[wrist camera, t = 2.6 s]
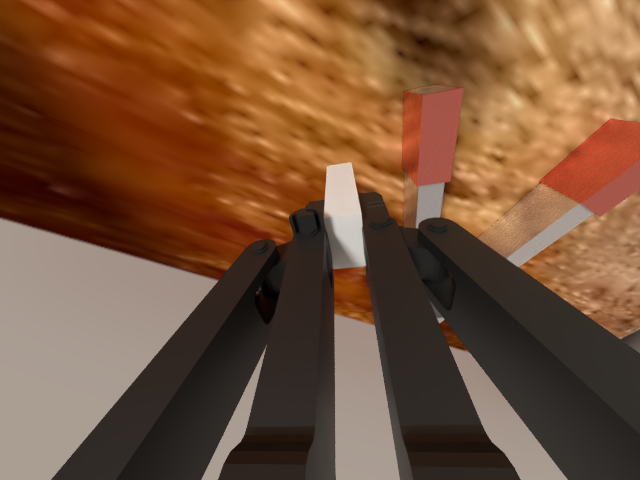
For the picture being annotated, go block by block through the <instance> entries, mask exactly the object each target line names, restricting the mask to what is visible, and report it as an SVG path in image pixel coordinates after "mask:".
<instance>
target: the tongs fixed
mask: <svg viewBox="0 0 640 480" xmlns="http://www.w3.org/2000/svg"><path fill="white" fill-rule="evenodd" d="M539 182H541V183H540V184H539V185H538V186H537V187H535V188H534V189H533V190H532V191H531V192H530V193H528V194H527V195H526V196H525V197H524V198H523V199H522V200H520V201H519V202H518V203H517V204H516V205H515V206H514V207H512V208H511V209H510V210H509V211H508V212H507V213H506V214H504V215H503V216H502V217H501V218H500V219H499V220H498V221H496V222H495V223H494V224H493V225H492V226H491V227H490V228H488V229H487V230H486V231H485V232H484V233H483V234H481V235H480V236H479V237H478V239H479V240H481V241H482V242H483V243H485V244H486V245H488V246H489V247H490V248H492V249H493V250H495V251H496V252H497V253H499V254H500V255H502V256H503V257H505V258H506V259H507V260H509V261H510V262H512V263H513V264H514V265H516V266H517V267H519V266H521V265H522V264H524V263H525V262H526V261H528V260H529V259H531V258H532V257H533V256H535V255H536V254H538V253H539V252H540V251H542V250H543V249H545V248H546V247H547V246H549V245H550V244H552V243H553V242H554V241H556V240H557V239H559V238H560V237H561V236H563V235H564V234H566V233H567V232H568V231H570V230H571V229H573V228H574V227H575V226H577V225H578V224H580V223H581V222H583V221H584V220H585V219H587V218H588V217H590V216H591V215H592V214H596V215H598V216H602V215H603V214H605V213H606V212H607V211H609V210H610V209H612V208H613V207H615V206H616V205H617V204H619V203H620V202H622V201H623V200H625V199H626V198H628V197H629V196H630V195H632V194H633V193H635V192H636V191H638V190H639V189H640V123H635V122H629V121H623V120H617V119H610V120H609V121H608V122H606V123H605V124H604V125H603V126H602V127H601V128H600V129H598V130H597V131H596V132H595V133H594V134H593V135H592V136H590V137H589V138H588V139H587V140H586V141H585V142H584V143H583V144H581V145H580V146H579V147H578V148H577V149H576V150H575V151H573V152H572V153H571V154H570V155H569V156H568V157H567V158H565V159H564V160H563V161H562V162H561V163H560V164H559V165H557V166H556V167H555V168H554V169H553V170H552V171H551V172H549V173H548V174H547V175H546V176H545V177H544V178H543V179H542V180H540V181H539ZM429 301H430V300H429ZM430 303H431V301H430ZM431 305H432V308H433V310H434V312H435V315H436V317H437V319H438V322H439V323H441V322H442V321H444V320H445V319H444V318H443V317H442V316H441V314H440V313H439V312H438V310H437V309H436V308H435V306H434V305H433V304H432V303H431Z"/></svg>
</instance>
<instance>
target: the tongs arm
mask: <svg viewBox="0 0 640 480" xmlns="http://www.w3.org/2000/svg"><path fill="white" fill-rule="evenodd" d="M463 92H464V88H463V87H454V86H445V85H431V86H426V87H421V88H416V89H411V90H406V91H404V102H403V146H402V168H403V169H404V170H405V174H404V208H403V227H407V228H418V225H419V223H420V222H421V221H422V220H425V219H427V218H433V217H437V218H438V217H440V214H441V207H442V199H443V192H444V184H445V182H450V180H451V173H452V167H453V160H454V153H455V146H456V139H457V132H458V126H459V119H460V112H461V105H462V98H463Z"/></svg>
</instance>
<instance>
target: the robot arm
mask: <svg viewBox="0 0 640 480" xmlns="http://www.w3.org/2000/svg"><path fill="white" fill-rule="evenodd" d="M289 220H290V223H291V227H292V230H293V234H294V236H293V240H292V241H290V242H288V243H285V244H282V245H279V246H276V244H275V242H274V241H273V240H269V239H265V240H259V241H256V242H254V243H252V244H250V245H249V246H248V247H247V248H246V249H245V250H244V251H243V253H242V254H241V255H240V256H239V257H238V258H237V260H236V261H235V262H234V263H233V264H232V266H231V267H230V268H229V269H228V270H227V272H226V273H225V274H224V275H223V276H222V277H221V279H220V280H219V281H218V282H217V283H216V285H215V286H214V287H213V288H212V290H211V291H210V292H209V293H208V294H207V295H206V296H205V298H204V299H203V300H202V301H201V303H200V304H199V305H198V306H197V307H196V309H195V310H194V311H193V312H192V313H191V314H190V316H189V317H188V318H187V319H186V320H185V321H184V323H183V324H182V325H181V326H180V327H179V329H178V330H177V331H176V332H175V333H174V335H173V336H172V337H171V338H170V339H169V340H168V342H167V343H166V344H165V345H164V346H163V348H162V349H161V350H160V351H159V352H158V354H157V355H156V356H155V357H154V358H153V359H152V361H151V362H150V363H149V364H148V365H147V367H146V368H145V369H144V370H143V371H142V373H141V374H140V375H139V376H138V378H136V380H135V381H134V382H133V383H132V385H131V386H130V387H129V388H128V389H127V390H126V392H125V393H124V394H123V395H122V396H121V398H120V399H119V400H118V401H117V402H116V403H115V405H114V406H113V407H112V408H111V409H110V411H109V412H108V413H107V414H106V415H105V417H104V418H103V419H102V420H101V421H100V422H99V424H98V425H97V426H96V427H95V429H94V430H93V431H92V432H91V433H90V434H89V435H88V437H87V438H86V439H85V440H84V441H83V443H82V444H81V445H80V446H79V447H78V449H77V450H76V451H75V452H74V453H73V454H72V456H71V457H70V458H69V459H68V460H67V462H66V463H65V464H64V465H63V466H62V468H61V469H60V470H59V471H58V472H57V473H56V475H55V476H54V477H53V478H52V480H201V479H202V477H203V475H204V473H205V471H206V469H207V466H208V465H209V463H210V460H211V458H212V456H213V454H214V452H215V450H216V448H217V446H218V444H219V442H220V440H221V438H222V436H223V434H224V432H225V429H226V427H227V425H228V423H229V421H230V419H231V417H232V415H233V413H234V411H235V409H236V407H237V405H238V403H239V401H240V399H241V397H242V395H243V392H244V390H245V388H246V386H247V384H248V382H249V380H250V378H251V376H252V374H253V372H254V370H255V367H256V366H257V364H258V362H259V359H260V357H261V355H262V353H263V351H264V349H265V347H266V345H267V347H266V351H265V355H264V359H263V363H262V367H261V371H260V376H259V380H258V384H257V388H256V392H255V396H254V400H253V404H252V409H251V413H250V417H249V421H248V425H247V429H246V432H245V435H244V437H243V439H242V441H241V442H240V443H239V444H238V445H237V446H236V447H235V448H234V449H233V450H232V451H231V452H230V453H229V455H228V457H227V459H226V461H225V463H224V465H223V467H222V470H221V473H220V476H219V479H218V480H336V476H335V475H336V474H335V375H334V374H335V367H334V366H335V364H334V363H335V361H334V360H335V359H334V275H333V270H332V264H333V269H340V268H350V267H359V266H366V272H367V283H368V286H369V291H370V297H371V303H372V310H373V316H374V322H375V327H376V334H377V340H378V346H379V352H380V359H381V365H382V371H383V377H384V383H385V389H386V395H387V401H388V408H389V413H390V420H391V426H392V431H393V438H394V444H395V450H396V456H397V462H398V469H399V475H400V480H520V478H519V476H518V474H517V472H516V470H515V468H514V467H513V465H512V464H511V463H510V461H509V459H508V458H507V457H506V455H505V454H504V453H503V452H502V451H501V450H500V449H499V448H498V447H497V446H496V445H494V444H493V443H492V442H491V440H490V439H489V437H488V436H487V434H486V432H485V430H484V428H483V426H482V424H481V421H480V419H479V417H478V415H477V412H476V409H475V407H474V405H473V402H472V400H471V398H470V395H469V393H468V390H467V388H466V386H465V383H464V381H463V379H462V376H461V374H460V372H459V370H458V367H457V364H456V362H455V360H454V357H453V355H452V353H451V350H450V348H449V345H448V343H447V341H446V338H445V336H444V334H443V331H442V329H441V327H440V324H439V322H438V319H437V317H436V315H435V312H434V310H433V308H432V305H431V303H432V304H433V305H434V306H435V308H436V309H437V310H438V312H439V313H440V314H441V316H442V317H443V318H444V319H445V321H446V322H447V323H448V325H449V326H450V327H451V329H452V330H453V331H454V332H455V334H456V335H457V336H458V338H459V339H460V340H461V342H462V343H463V344H464V345H465V347H466V348H467V349H468V351H469V352H470V353H471V354H472V356H473V357H474V358H475V359H476V361H477V362H478V364H479V365H480V366H481V367H482V369H483V370H484V371H485V373H486V374H487V375H488V376H489V378H490V379H491V380H492V382H493V383H494V384H495V386H496V387H497V388H498V389H499V391H500V392H501V393H502V395H503V396H504V397H505V399H506V400H507V401H508V403H510V405H511V406H512V408H513V409H514V410H515V412H516V413H517V414H518V415H519V417H520V418H521V419H522V421H523V422H524V423H525V424H526V426H527V427H528V428H529V430H530V431H531V432H532V434H533V435H534V436H535V438H536V439H537V440H538V441H539V443H540V444H541V445H542V447H543V448H544V449H545V451H546V452H547V453H548V454H549V456H550V457H551V458H552V460H553V461H554V462H555V464H556V465H557V466H558V467H559V469H560V470H561V471H562V473H563V474H564V475H565V476H566V478H567V479H568V480H640V353H639V352H637V351H636V350H634V349H633V348H631V347H630V346H629V345H627V344H625V343H624V342H623V341H621V340H620V339H619V338H617V337H616V336H615V335H613V334H612V333H610V332H609V331H608V330H606V329H605V328H603V327H602V326H600V325H599V324H598V323H596V322H595V321H593V320H592V319H591V318H589V317H588V316H586V315H585V314H584V313H582V312H581V311H579V310H578V309H576V308H575V307H574V306H572V305H571V304H569V303H568V302H567V301H565V300H564V299H562V298H561V297H560V296H558V295H557V294H555V293H554V292H552V291H551V290H550V289H548V288H547V287H545V286H544V285H543V284H541V283H540V282H538V281H537V280H536V279H534V278H533V277H531V276H530V275H529V274H527V273H526V272H524V271H523V270H521V269H520V268H519V267H517V266H516V265H514V264H513V263H512V262H510V261H509V260H507V259H506V258H505V257H503V256H502V255H500V254H499V253H497V252H496V251H495V250H493V249H492V248H490V247H489V246H488V245H486V244H485V243H483V242H482V241H481V240H479V239H478V238H476V237H475V236H473V235H472V234H471V233H469V232H468V231H466V230H465V229H464V228H462V227H461V226H459V225H458V224H457V223H455V222H453V221H451V220H449V219H445V218H440V217H438V218H437V217H433V218H427V219H425V220H422V221H421V222H420V223H419V225H418V228H407V227H402V226H398V225H397V222H396V221H395V220H394V219H393V218H391V217H390V216H389V214H388V211H387V209H386V206H385V204H384V201H383V199H382V196H381V195H380V194H378V193H377V192H371V193H364V194H357V189H356V184H355V179H354V174H353V169H352V164H351V162H349V163H343V164H337V165H331V166H327V176H326V190H325V200H320V201H313V202H309V203H308V204H307V205H306V207H305V208H303V209H300V210H297V211H295V212H294V213H292V214H291V215H290V217H289ZM258 289H260V290H259V291H258ZM257 291H258V293H257ZM256 293H257V294H256ZM429 300H430V301H431V303H430V301H429Z"/></svg>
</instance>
